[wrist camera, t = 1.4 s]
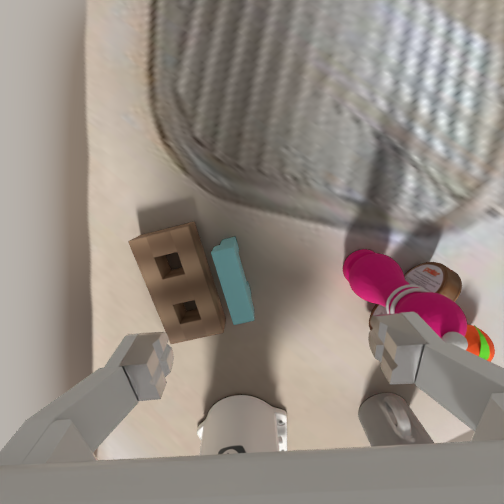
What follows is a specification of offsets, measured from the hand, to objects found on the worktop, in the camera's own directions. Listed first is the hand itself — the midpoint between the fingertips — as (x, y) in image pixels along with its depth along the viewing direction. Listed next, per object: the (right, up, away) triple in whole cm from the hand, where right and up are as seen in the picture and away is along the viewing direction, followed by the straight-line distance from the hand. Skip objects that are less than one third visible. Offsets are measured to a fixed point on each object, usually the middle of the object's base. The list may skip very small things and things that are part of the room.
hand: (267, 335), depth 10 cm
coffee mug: (+26, -28, +39) cm, 54 cm away
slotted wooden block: (-12, -1, +31) cm, 33 cm away
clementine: (+35, -11, +34) cm, 50 cm away
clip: (-3, +1, +30) cm, 30 cm away
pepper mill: (+17, +1, +30) cm, 35 cm away
